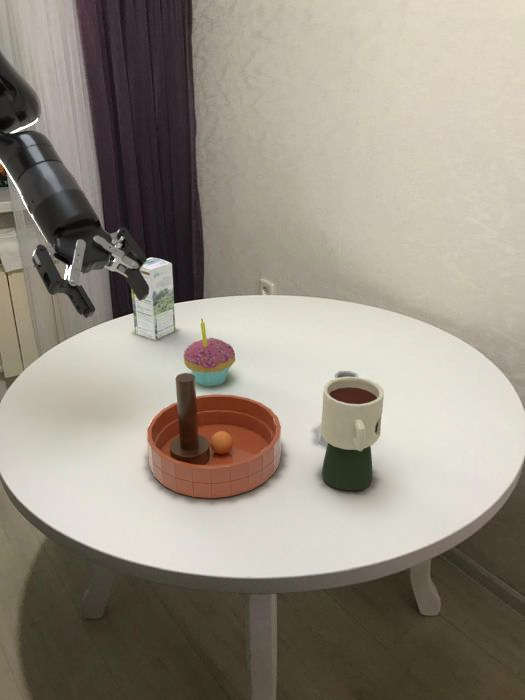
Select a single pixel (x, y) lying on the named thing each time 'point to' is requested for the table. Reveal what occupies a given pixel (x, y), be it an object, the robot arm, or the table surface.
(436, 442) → the table surface
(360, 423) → the character mug
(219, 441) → the ball
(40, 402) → the table surface
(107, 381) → the table surface
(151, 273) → the syrup box
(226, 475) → the bowl
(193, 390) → the brown peg stand
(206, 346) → the cupcake
